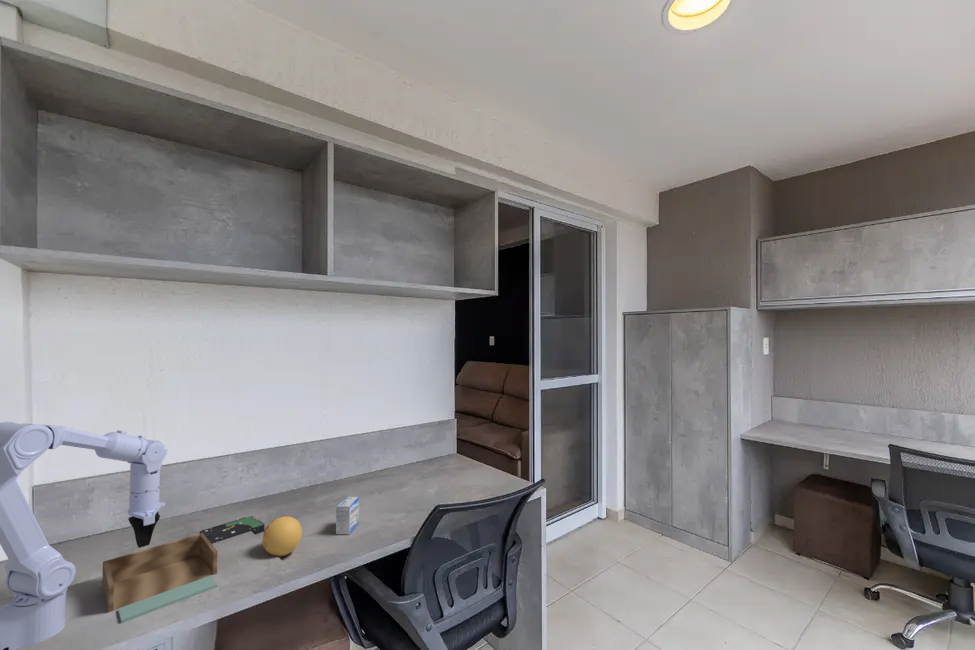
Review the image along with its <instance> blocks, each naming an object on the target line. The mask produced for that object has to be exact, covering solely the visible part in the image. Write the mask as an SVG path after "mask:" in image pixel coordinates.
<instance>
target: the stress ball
mask: <svg viewBox="0 0 975 650" xmlns="http://www.w3.org/2000/svg"><path fill="white" fill-rule="evenodd" d="M262 533H263V535H262V541H261V545H262V548H264V549H265V551H266V552H267V553H269V554H270V555H272V556H277V557H279V558H281V557H286V556H287V555H288V554H291V552H293V551H294V550H295V549H296V548H297V547H298V545H299V544H300V543H301V540H302V537H303V528H302V524H300V522H299V520H297V519H296V518H294V517H292V516H280V517H278V518H277V517H276V518H275V519H273V520H272V521H271V522H270V523H269V524H268V525H267V526H266V527H265V529H264V532H262Z"/></svg>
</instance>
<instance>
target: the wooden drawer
mask: <svg viewBox="0 0 975 650" xmlns="http://www.w3.org/2000/svg"><path fill="white" fill-rule="evenodd" d="M217 574H218V550H217V548H215V546H214V544H211V543H210V541H209V540H208V539H207V537H206V536H205V535H204V534H203V533H200V532H199V533H197V534H194V535H190V536H187V537H184V538H180V539H179V538H178V539H177V540H173V541H170V542H167V543H166V542H165V543H162V544H160V545H156V546H152V547H148V548H145V549H142V550H138V551H135V552H132V553H128V554H125V555H122V556H118V557H114V558H111V559H107V560H104V561H102V574H101V575H102V576H101V578H102V579H101V581H102V582H101V586H102V591H103V595H104V599H105V605H106V609H107V612H108V613H112V612H114V611H118V608H121V607H124V606H127V605H129V604H132V603H135V602H138V601H141V600H143V599H146V598H149V597H152V596H155V595H157V594H160V593H163V592H166V591H169V590H171V589H174V588H177V587H180V586H183V585H185V584H188V583H191V582H194V581H197V580H199V579H202V578H205V577H208V576H212V577H213V576H215V575H217Z"/></svg>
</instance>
